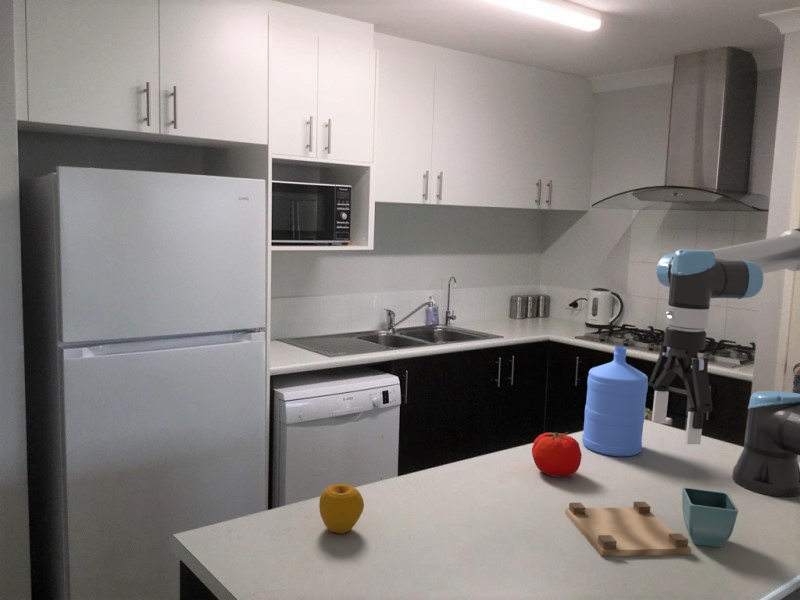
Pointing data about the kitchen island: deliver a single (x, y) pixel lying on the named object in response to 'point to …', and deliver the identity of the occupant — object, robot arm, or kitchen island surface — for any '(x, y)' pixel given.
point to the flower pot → (708, 516)
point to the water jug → (615, 407)
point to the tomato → (556, 454)
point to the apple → (340, 507)
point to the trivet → (626, 531)
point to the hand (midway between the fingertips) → (674, 432)
